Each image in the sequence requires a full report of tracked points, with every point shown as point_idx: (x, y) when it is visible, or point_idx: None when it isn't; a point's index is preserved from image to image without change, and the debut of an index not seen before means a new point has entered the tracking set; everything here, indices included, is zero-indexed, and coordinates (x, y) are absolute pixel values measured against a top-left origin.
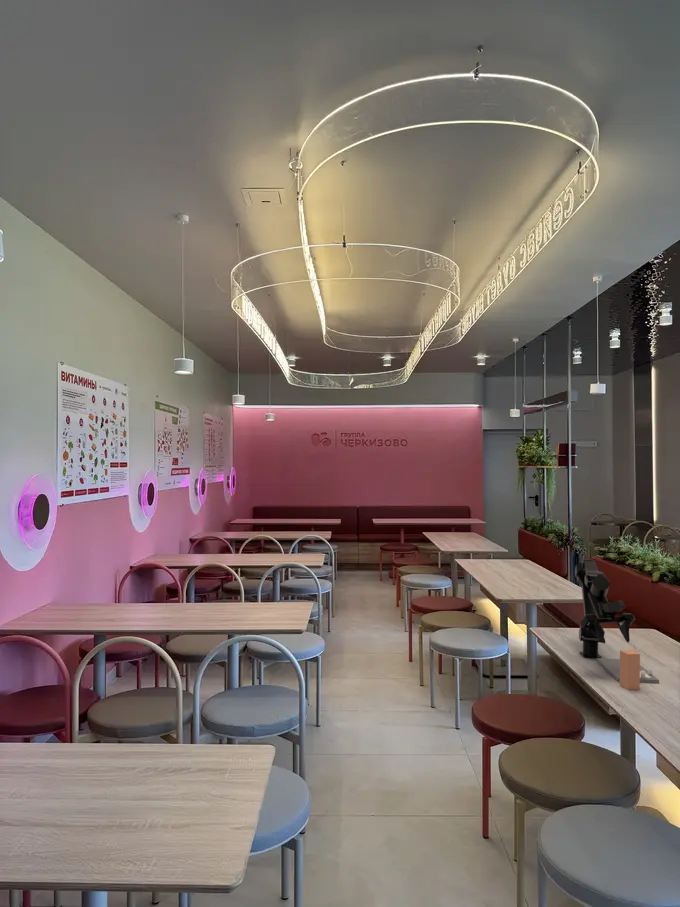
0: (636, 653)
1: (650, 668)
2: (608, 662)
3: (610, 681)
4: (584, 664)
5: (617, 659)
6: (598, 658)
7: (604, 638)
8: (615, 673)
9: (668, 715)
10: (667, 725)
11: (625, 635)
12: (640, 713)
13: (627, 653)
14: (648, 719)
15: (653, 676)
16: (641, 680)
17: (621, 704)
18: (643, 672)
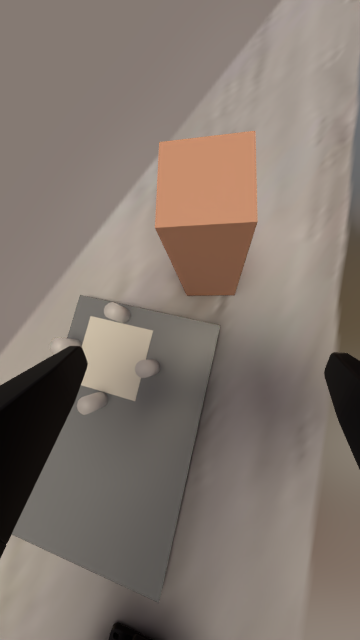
0: (177, 150)
1: (60, 338)
2: (140, 522)
3: (245, 336)
4: (242, 560)
5: (73, 554)
6: (152, 594)
7: (356, 376)
8: (198, 376)
9: (230, 77)
10: (277, 21)
11: (43, 410)
12: (306, 82)
13: (246, 147)
14: (308, 48)
15: (74, 329)
16: (137, 307)
17: (330, 139)
18: (116, 304)
